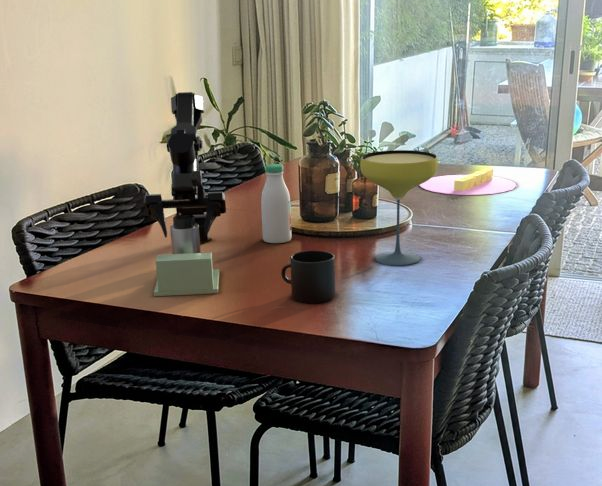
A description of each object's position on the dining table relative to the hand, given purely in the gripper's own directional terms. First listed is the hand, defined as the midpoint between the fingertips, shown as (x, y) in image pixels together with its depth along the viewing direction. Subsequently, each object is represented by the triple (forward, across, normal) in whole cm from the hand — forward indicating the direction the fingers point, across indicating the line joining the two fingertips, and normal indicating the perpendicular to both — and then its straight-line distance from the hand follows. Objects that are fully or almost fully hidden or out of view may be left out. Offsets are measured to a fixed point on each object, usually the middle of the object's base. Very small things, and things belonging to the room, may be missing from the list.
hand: (185, 235), depth 198 cm
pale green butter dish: (+11, 0, +3) cm, 11 cm away
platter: (-55, +88, +70) cm, 126 cm away
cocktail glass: (+2, +50, +12) cm, 52 cm away
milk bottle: (-13, +22, +28) cm, 38 cm away
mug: (+20, +27, -5) cm, 33 cm away
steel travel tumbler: (+8, 0, +4) cm, 9 cm away
